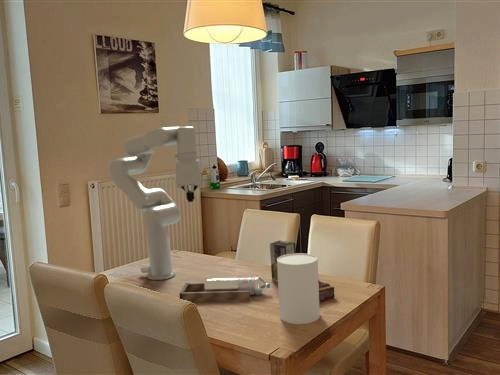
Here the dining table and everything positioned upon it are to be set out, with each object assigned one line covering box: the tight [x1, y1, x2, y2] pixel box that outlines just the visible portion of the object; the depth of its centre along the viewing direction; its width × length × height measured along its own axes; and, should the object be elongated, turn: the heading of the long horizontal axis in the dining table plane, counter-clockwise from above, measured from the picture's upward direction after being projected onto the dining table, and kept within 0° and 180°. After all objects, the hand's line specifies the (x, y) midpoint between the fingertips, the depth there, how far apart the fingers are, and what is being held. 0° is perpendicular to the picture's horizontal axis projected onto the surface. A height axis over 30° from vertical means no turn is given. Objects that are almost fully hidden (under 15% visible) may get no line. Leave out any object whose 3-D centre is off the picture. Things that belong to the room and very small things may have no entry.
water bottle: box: [203, 276, 271, 296], centre depth 192 cm, size 7×7×25 cm
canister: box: [277, 252, 321, 325], centre depth 167 cm, size 14×14×20 cm
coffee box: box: [269, 240, 297, 283], centre depth 205 cm, size 9×6×16 cm
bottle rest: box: [179, 282, 251, 303], centre depth 192 cm, size 27×12×4 cm, turn 86°
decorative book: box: [318, 279, 335, 302], centre depth 186 cm, size 11×16×5 cm
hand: (190, 201), depth 204 cm, fingers closed
